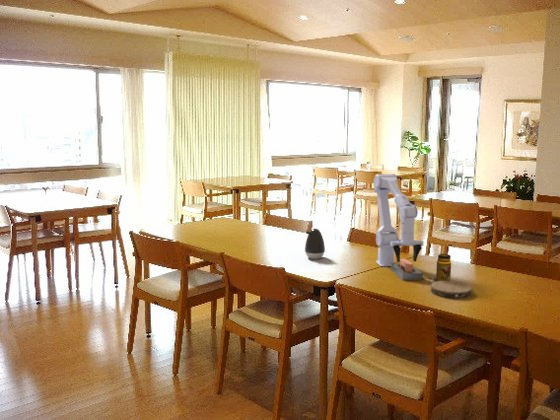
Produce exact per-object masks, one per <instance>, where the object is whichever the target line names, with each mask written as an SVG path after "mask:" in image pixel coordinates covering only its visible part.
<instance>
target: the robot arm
mask: <svg viewBox="0 0 560 420" xmlns="http://www.w3.org/2000/svg"><path fill="white" fill-rule="evenodd" d="M372 182H373V189H374V192H375V193H376V196H377V197H376V198H377V204H378V215H379V222H380V227H379V228H378V229H377V230H376V232H375V243H376V245H377V247H378V249H377V260H375V262H376V263H377V265H379V266H380V267H391V263H395V257H396V262H397V263H400V259H401V251H402V248H401V247H407V246H408V247H409V246H410V247H411V246H412V247H413V250H412V251H413V254H412V255H413V257H412V261H414V262H417V258H418V256H419V254H420V252H421V251H422V247H423V246H424V241H423V240H415V219H416V218H417V217H418V208H417V206H416V205H415V204H413V203H411V202H410V200H409V198H408V197H407V196H406V194H404V193H402V191H401V190H400V188H399V185H398V178H397V175H396V174H395V173H390V174H389V173H388V174H386V173H385V174H378V173H377V174H375V176H374V178H373V181H372ZM389 193H391V195H392V196H393V197H394V198H393V202H394V204H395V205H396V207H397V209H398V214H399V221H400V222H401V227H400V237H399V235H398V232H397V229H396V228H395V227H393V226H392V219H391V212H390V205H389V203H390V202H389V196H388V194H389Z"/></svg>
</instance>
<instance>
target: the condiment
mask: <svg viewBox="0 0 560 420" xmlns="http://www.w3.org/2000/svg"><path fill="white" fill-rule="evenodd" d="M451 256H452V255H450V254H448V253H440V254H438V255H437V260H436V271H435V272H436V274H435V275H436V276H435V277H432V279H430V280H429V282H430V283H434V282H437V281H453V279H451V273H452V272H451V271H452V261H451V259H452V257H451Z"/></svg>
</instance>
